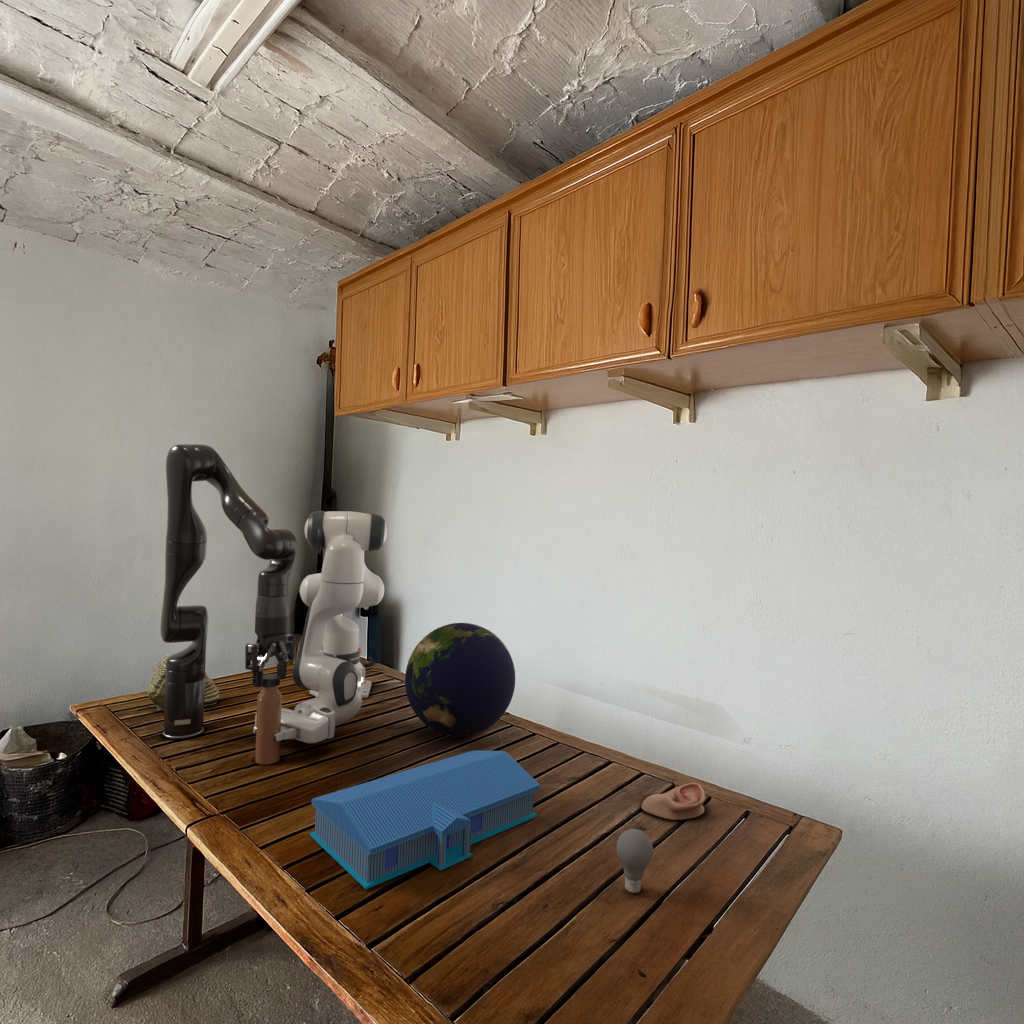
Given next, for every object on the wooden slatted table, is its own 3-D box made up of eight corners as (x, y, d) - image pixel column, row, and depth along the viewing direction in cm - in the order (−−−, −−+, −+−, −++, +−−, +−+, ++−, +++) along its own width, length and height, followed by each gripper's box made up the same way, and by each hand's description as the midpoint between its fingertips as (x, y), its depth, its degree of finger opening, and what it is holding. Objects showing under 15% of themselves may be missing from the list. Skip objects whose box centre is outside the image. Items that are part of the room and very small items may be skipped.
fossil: (144, 707, 182) (145, 655, 182) (212, 696, 194) (213, 647, 194) (151, 716, 175) (153, 662, 175) (221, 703, 188) (223, 653, 188)
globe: (380, 741, 165) (385, 626, 164) (436, 708, 192) (440, 610, 192) (485, 764, 153) (490, 641, 153) (528, 725, 181) (533, 621, 181)
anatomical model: (642, 796, 131) (642, 773, 142) (641, 815, 131) (641, 791, 142) (708, 805, 128) (703, 781, 140) (707, 825, 129) (702, 799, 140)
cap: (265, 688, 147) (265, 680, 147) (256, 684, 150) (257, 676, 150) (283, 684, 151) (283, 677, 151) (274, 680, 154) (275, 673, 154)
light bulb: (610, 879, 108) (613, 822, 108) (644, 879, 109) (647, 822, 109) (619, 902, 102) (622, 840, 102) (655, 901, 103) (658, 840, 103)
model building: (376, 899, 100) (378, 836, 100) (308, 834, 119) (310, 781, 118) (548, 822, 127) (550, 773, 127) (472, 779, 145) (474, 735, 145)
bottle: (281, 762, 150) (284, 681, 149) (256, 766, 147) (259, 684, 147) (278, 753, 155) (280, 675, 154) (253, 757, 152) (256, 677, 152)
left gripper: (262, 620, 142) (259, 693, 142) (305, 610, 155) (303, 677, 156) (236, 616, 145) (234, 688, 145) (281, 607, 158) (279, 673, 159)
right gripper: (281, 698, 167) (236, 712, 155) (339, 713, 157) (296, 730, 145) (280, 721, 167) (235, 737, 155) (338, 738, 157) (295, 757, 145)
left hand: (269, 682), depth 150 cm, fingers open, 7 cm apart
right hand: (265, 734), depth 150 cm, fingers closed on bottle, 5 cm apart
